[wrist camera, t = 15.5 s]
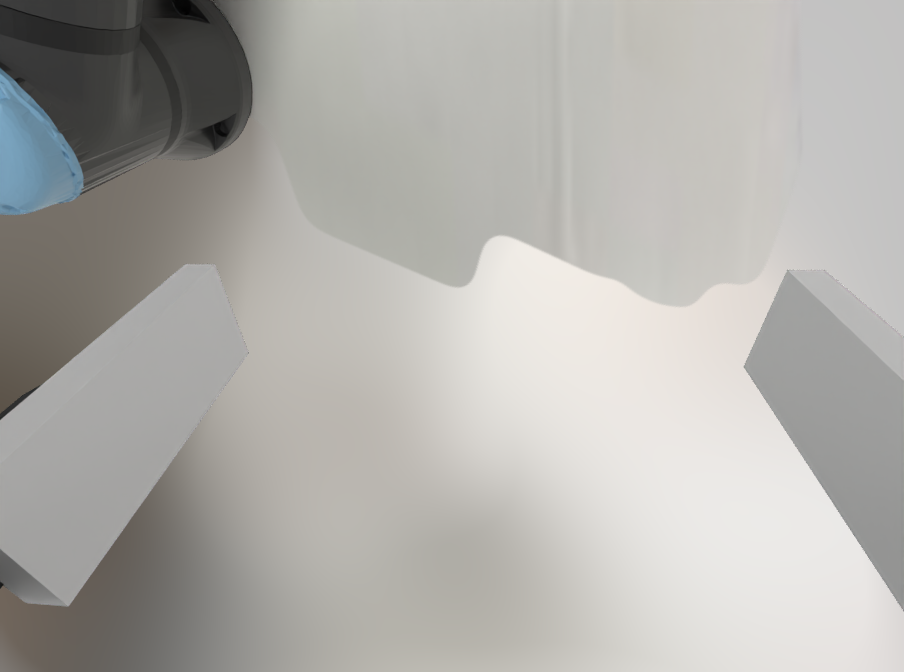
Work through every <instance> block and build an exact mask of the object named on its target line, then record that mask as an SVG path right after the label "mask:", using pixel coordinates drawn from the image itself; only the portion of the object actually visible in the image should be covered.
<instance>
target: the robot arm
mask: <svg viewBox="0 0 904 672" xmlns="http://www.w3.org/2000/svg"><path fill="white" fill-rule="evenodd" d="M251 102H252V87H251V79H250V73H249V69H248V65H247V61H246V58H245V55H244V53H243V50H242V48H241V45H240V43H239V41H238V39H237V37H236V35H235V33H234V32H233V30H232V28H231V27H230V25H229V23H228V22H227V20H226V19H225V18H224V16H223V15H222V14H221V12H220V11H219V10H218V9H217V7H216V6H215V5H214V4H213V3H212V2H211V1H210V0H0V214H2V215H19V214H27V213H31V212H34V211H37V210H40V209H43V208H45V207H47V206H50V205H53V204H56V203H64V202H70V201H72V200H74V199H76V198H77V197H78V196H79V195H81V194H83V193H85V192H87V191H89V190H91V189H93V188H95V187H97V186H99V185H101V184H103V183H105V182H107V181H109V180H111V179H113V178H115V177H117V176H119V175H121V174H123V173H125V172H127V171H129V170H131V169H134V168H136V167H138V166H140V165H142V164H144V163H146V162H148V161H150V160H151V159H154V158H158V159H173V160H195V159H201V158H205V157H208V156H211V155H213V154H215V153H217V152H219V151H221V150H223V149H224V148H226V147H227V146H229V145H230V144H232V143H233V142H234V141H235V140H236V139H237V138H238V137H239V135H240V134H241V133H242V131H243V129H244V127H245V125H246V123H247V120H248V118H249V114H250V109H251ZM248 353H249V352H248V349H247V346H246V344H245V341H244V339H243V336H242V333H241V331H240V329H239V326H238V323H237V320H236V318H235V315H234V313H233V310H232V308H231V305H230V302H229V300H228V297H227V294H226V292H225V289H224V287H223V284H222V281H221V279H220V276H219V274H218V271H217V268H216V266H215V264H185V265H184V266H183V267H181V268H180V269H179V270H178V271H177V272H175V273H174V274H173V275H172V276H171V277H169V278H168V279H167V280H166V281H165V282H163V283H162V284H161V285H160V286H159V287H158V288H156V289H155V290H154V291H153V292H152V293H150V294H149V295H148V296H147V297H146V298H145V299H143V300H142V301H141V302H140V303H139V304H137V305H136V306H135V307H134V308H133V309H131V310H130V311H129V312H128V313H127V314H126V315H124V316H123V317H122V318H121V319H120V320H118V321H117V322H116V323H115V324H114V325H112V326H111V327H110V328H109V329H108V330H107V331H105V332H104V333H103V334H102V335H101V336H99V337H98V338H97V339H96V340H95V341H93V342H92V343H91V344H90V345H89V346H88V347H86V348H85V349H84V350H83V351H82V352H80V353H79V354H78V355H77V356H76V357H74V358H73V359H72V360H71V361H70V362H69V363H68V364H66V365H65V366H64V367H63V368H62V369H60V370H59V371H58V372H57V373H56V374H54V375H53V376H52V377H51V378H50V379H48V380H47V381H46V382H45V383H43V384H42V385H40V386H38V387H36V388H34V389H33V390H31V391H29V392H28V393H26V394H24V395H22V396H21V397H20V398H19V399H17V400H16V401H15V402H14V403H13V404H12V405H10V406H9V407H8V408H7V409H6V410H4V411H3V412H2V413H1V414H0V588H1V587H2V586H5V587H6V588H7V589H8V590H10V591H11V592H12V593H14V594H15V595H16V596H18V597H19V598H20V599H21V600H23V601H24V602H25V603H34V604H46V605H57V606H69V605H70V604H71V602H72V601H73V599H74V598H75V597H76V595H77V594H78V592H79V591H80V590H81V588H82V587H83V585H84V584H85V582H86V581H87V579H88V578H89V576H90V575H91V574H92V573H93V571H94V570H95V568H96V567H97V566H98V564H99V562H100V561H101V560H102V559H103V557H104V556H105V554H106V553H107V552H108V550H109V549H110V547H111V546H112V545H113V543H114V542H115V540H116V539H117V538H118V536H119V535H120V533H121V532H122V530H123V529H124V528H125V526H126V525H127V523H128V522H129V521H130V519H131V518H132V516H133V515H134V514H135V512H136V511H137V509H138V508H139V507H140V505H141V504H142V502H143V501H144V500H145V498H146V497H147V495H148V494H149V493H150V491H151V490H152V488H153V487H154V486H155V484H156V483H157V481H158V480H159V478H160V477H161V476H162V474H163V473H164V471H165V470H166V469H167V467H168V466H169V464H170V463H171V462H172V460H173V458H174V457H175V456H176V454H177V453H178V452H179V450H180V449H181V448H182V446H183V445H184V443H185V442H186V441H187V439H188V437H189V436H190V435H191V433H192V432H193V431H194V429H195V428H196V426H197V425H198V424H199V422H200V421H201V419H202V418H203V417H204V415H205V414H206V412H207V411H208V409H209V408H210V407H211V405H212V404H213V403H214V401H215V400H216V398H217V397H218V396H219V394H220V393H221V391H222V390H223V389H224V387H225V386H226V384H227V383H228V382H229V380H230V379H231V377H232V376H233V374H234V373H235V372H236V370H237V369H238V367H239V366H240V365H241V363H242V362H243V360H244V359H245V357H246V356H247V355H248ZM744 368H745V369H746V371H747V373H748V374H749V375H750V377H751V379H752V380H753V382H754V383H755V385H756V386H757V388H758V389H759V391H760V392H761V394H762V396H763V397H764V399H765V400H766V402H767V403H768V405H769V406H770V408H771V409H772V411H773V412H774V414H775V415H776V417H777V418H778V420H779V421H780V423H781V425H782V426H783V428H784V429H785V431H786V432H787V434H788V435H789V437H790V438H791V440H792V441H793V443H794V444H795V446H796V447H797V449H798V450H799V452H800V454H801V455H802V457H803V458H804V460H805V461H806V463H807V464H808V466H809V467H810V469H811V470H812V472H813V473H814V475H815V476H816V478H817V480H818V481H819V483H820V484H821V485H822V487H823V489H824V490H825V492H826V493H827V495H828V496H829V498H830V499H831V501H832V502H833V504H834V505H835V507H836V508H837V510H838V512H839V513H840V515H841V516H842V518H843V519H844V521H845V522H846V524H847V525H848V527H849V528H850V530H851V531H852V533H853V535H854V536H855V537H856V539H857V541H858V542H859V544H860V545H861V547H862V548H863V550H864V551H865V553H866V554H867V556H868V557H869V559H870V561H871V562H872V564H873V565H874V567H875V568H876V570H877V571H878V573H879V574H880V576H881V577H882V579H883V580H884V582H885V583H886V585H887V586H888V588H889V589H890V591H891V593H892V594H893V596H894V597H895V599H896V600H897V602H898V603H899V605H900V606H901V608H902V609H903V611H904V336H902V335H901V334H900V333H899V332H897V331H896V330H895V329H894V328H893V327H892V326H890V325H889V324H888V323H887V322H886V321H885V320H883V319H882V318H881V317H880V316H879V315H878V314H876V313H875V312H874V311H873V310H872V309H870V308H869V307H868V306H867V305H866V304H864V303H863V302H862V301H861V300H860V299H858V298H857V297H856V296H855V295H854V294H853V293H851V292H850V291H849V290H848V289H847V288H845V287H844V286H843V285H842V284H841V283H840V282H838V281H837V280H836V279H835V278H834V277H833V276H831V275H830V274H829V273H828V272H826V271H825V270H787V272H786V274H785V276H784V279H783V281H782V283H781V285H780V287H779V290H778V292H777V294H776V296H775V298H774V301H773V303H772V305H771V307H770V310H769V312H768V314H767V316H766V318H765V321H764V323H763V325H762V327H761V330H760V332H759V334H758V336H757V338H756V341H755V343H754V345H753V347H752V350H751V352H750V354H749V356H748V358H747V360H746V363H745V365H744Z"/></svg>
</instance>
